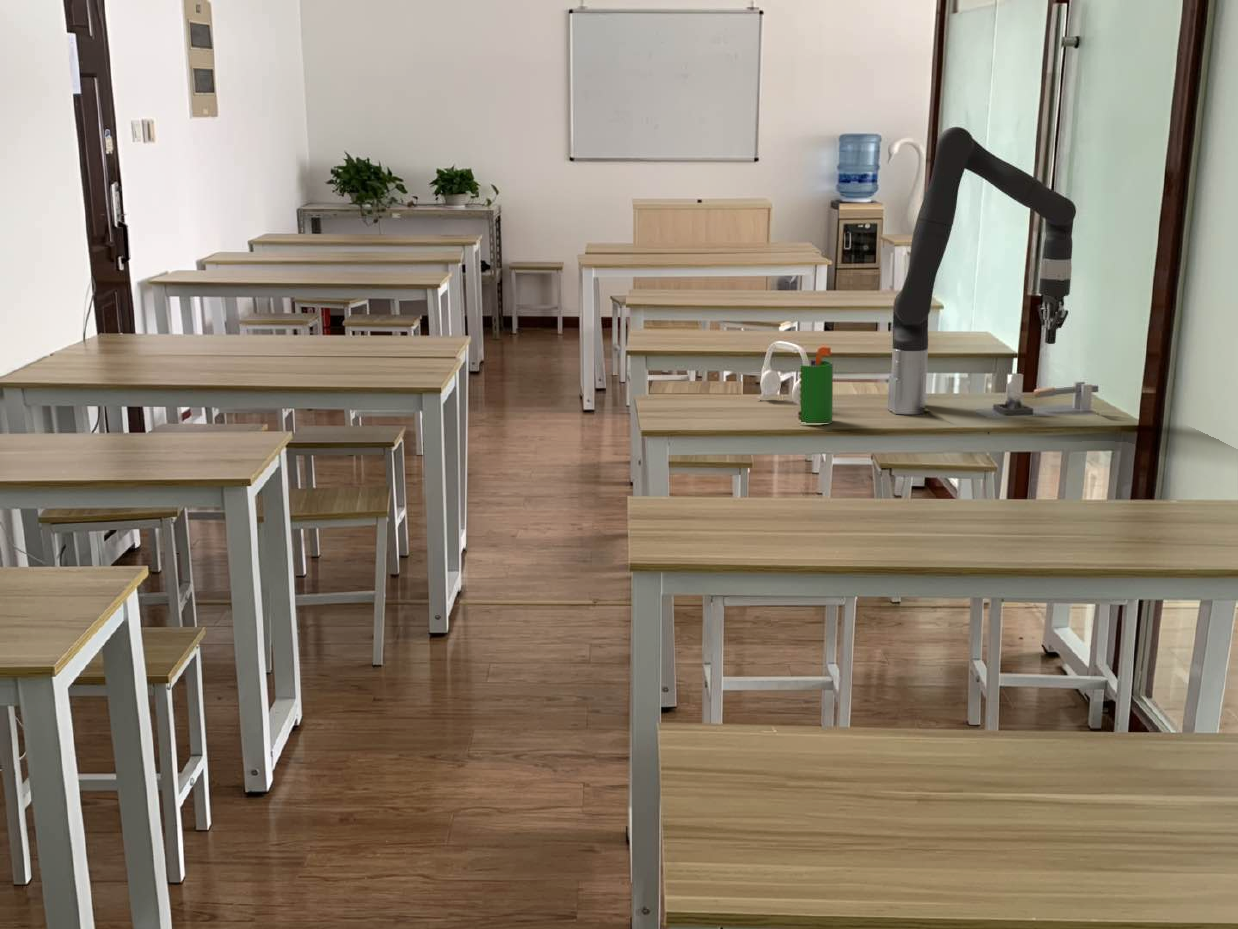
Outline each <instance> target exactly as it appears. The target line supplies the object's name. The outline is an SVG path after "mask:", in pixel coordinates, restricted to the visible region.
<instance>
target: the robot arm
mask: <svg viewBox="0 0 1238 929" xmlns="http://www.w3.org/2000/svg"><path fill="white" fill-rule="evenodd" d="M935 146H936V148H935V149H936V150H935V157H934V164H933V167H932V174H931V179H930V182H929V184H928V187H927V190H926V192H925V194H924V197H923V198H922V199H923V200H922V203H921V205H920V208H919V211H918V215H917V217H916V221H915V226H914V228H913V233H912V238H911V245H910V253H909V264H908V270H907V274H906V277H905V280H904V283H903V285H902V288H901V290H900V291H899V292H898V293H897V294H896V296H895V298H894V300H893V310H892V312H893V314H892V353H891V355H892V358H891V359H892V360H891V374H889V375H888V390H887V391H888V392H887V393H888V394H887V395H888V396H887V410H888V411H890V412H891V411H892V412H891V413H893V414H896V415H897V414H898V415H919V414H924V413H925V412H926V398H927V395H926V394H927V377H928V374H927V372H928V354H929V353H928V352H929V348H928V347H929V314H930V313H931V307H932V298H933V293H934V287H935V282H936V277H937V274H938V271H939V270H940V269H939V268H940V265H941V264H942V260H943V258H944V255H945V252H946V250H947V246H948V242H949V240H950V236H951V232H952V229H953V225H954V222H955V217H956V210H957V203H958V195H959V190H960V185H961V182H962V181H961V180H962V177H963V176H964V172H965V170H967V171H969V172H971V173H973V174H975V175H977V176H979V177H980V178H982V179H984V180H985V181H986V182H988V183H989V184H991V185H992V186H994V187H995V188H996V189H998V190H999V191H1001V192H1002V193H1003V194H1005V195H1006V196H1008V197H1009V198H1011V199H1012V200H1014V201H1015V202H1017V203H1018V204H1020V205H1022V206H1024V207H1026V208H1029V209H1030V210H1032V211H1034V213H1036V214H1037V215H1039V216H1040V217H1042V218H1044V219H1045V224H1044V225H1045V229H1044V230H1045V232H1044V234H1045V236H1044V243H1043V249H1042V260H1041V264H1040V274H1039V286H1038V295H1040V296H1043V298H1042V304H1038V305H1037V311H1038V314H1039V318H1040V323H1041V325H1042V326H1043V327H1044V329H1045V334H1044V335H1045V336H1044V338H1045V339H1044V343H1046V344H1048V345H1054V344H1056V339H1057V338H1056V337H1057V330H1059V329H1061V328H1062V326H1063V325H1064V322H1066V319H1067V317H1068V315H1069V310H1068V309H1066V310H1065V299H1064V298H1065V297H1067V296H1069V295H1070V292H1071V282H1072V269H1073V268H1072V266H1073V265H1072V255H1073V238H1072V236H1073V228H1074V219H1075V218H1076V214H1077V208H1076V205H1075V203H1074V201H1072V200H1071V199H1069V198H1068V197H1065V196H1064V195H1062V194H1060V193H1058V192H1057V191H1054V190H1053V189H1051V188H1049V187H1048V186H1047V185H1045V184H1044V183H1043V182H1041V181H1040V180H1038V179H1037V178H1035V177H1034V176H1032V175H1031V174H1029V173H1028V172H1025V171H1024V170H1022V169H1021V168H1019V167H1017V166H1014V165H1013V164H1011V163H1009V162H1007V161H1005V160H1004V159H1001V158H999V157H998V156H997V155H994V154H993V153H991V152H990V151H988V150H987V149H986V148H985V147H983V146H982V145H981V144H980V143H979V142H978V141H976V139H975V138H973V136H972V134H971V133H970V132H969V131H968V129H966V128H963V127H961V126H953V127H950V128H947V129H945V130H944V131H942V133H941V134H940V135H939V137H938V138H937V141H936V145H935Z"/></svg>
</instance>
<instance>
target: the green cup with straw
mask: <svg viewBox="0 0 1238 929" xmlns="http://www.w3.org/2000/svg"><path fill="white" fill-rule="evenodd" d="M831 350H832V349H831V346H825V345H823V346H821V347H820V348H819V349H818V350H817V352H816V356H815V359H810V366H804V364H802V365H801V366H800V367H799V370H798V371H799V372H800V374H799V380H800V379H801V380H800V381H799V384H800V385H801V387H800V388H799V390H800V391H801V393H800V394H799V397H800V398H801V400H799V403H800V404H801V405H800V411H799V412H798V413H797V420H798V419H799V420H801V422H806V423H830V422H832V423H833V400H834V399H833V398H834V396H833V394H834V393H833V390H834V389H833V388H834V387H833V386H834V385H833V382H834V378H833V377H834V373H833V372H834V363H833V361H830V360H822V358H823V356H825V357H826V356H827V357H830V356H831Z"/></svg>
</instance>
